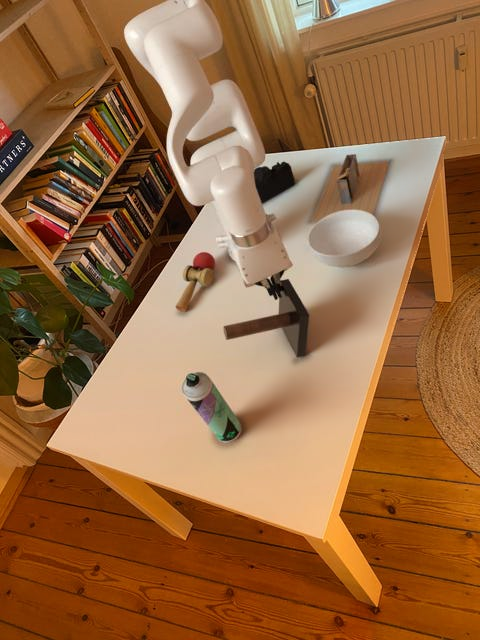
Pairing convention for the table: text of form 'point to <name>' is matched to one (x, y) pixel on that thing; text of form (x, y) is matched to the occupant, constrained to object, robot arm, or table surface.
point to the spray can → (211, 406)
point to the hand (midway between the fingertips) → (276, 294)
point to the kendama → (196, 277)
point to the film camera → (273, 180)
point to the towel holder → (279, 321)
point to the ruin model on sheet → (352, 187)
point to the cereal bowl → (344, 238)
